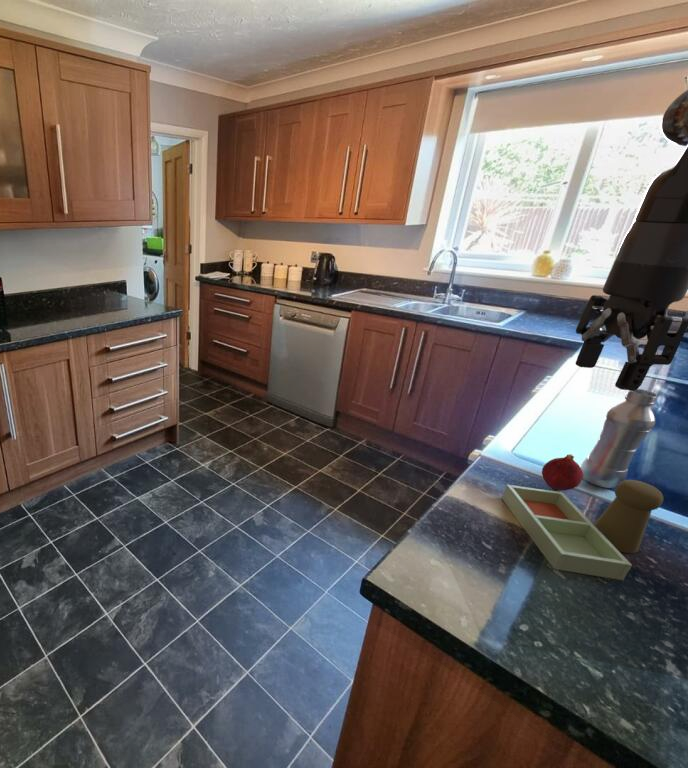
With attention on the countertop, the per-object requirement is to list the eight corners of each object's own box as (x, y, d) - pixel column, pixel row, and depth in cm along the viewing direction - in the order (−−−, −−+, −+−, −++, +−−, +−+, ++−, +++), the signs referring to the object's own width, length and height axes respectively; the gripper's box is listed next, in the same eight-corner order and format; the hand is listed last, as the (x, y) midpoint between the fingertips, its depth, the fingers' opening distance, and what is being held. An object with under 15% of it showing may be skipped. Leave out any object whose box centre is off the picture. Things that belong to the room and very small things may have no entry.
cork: (649, 550, 68) (683, 496, 64) (618, 555, 67) (650, 500, 63) (608, 524, 74) (637, 472, 69) (579, 528, 73) (606, 475, 68)
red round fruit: (576, 503, 79) (594, 468, 76) (537, 492, 82) (553, 457, 79) (571, 487, 83) (587, 453, 80) (534, 477, 86) (549, 443, 83)
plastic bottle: (568, 475, 87) (610, 387, 79) (590, 470, 89) (633, 383, 81) (605, 495, 81) (654, 402, 73) (627, 488, 83) (678, 397, 75)
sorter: (555, 505, 78) (562, 492, 77) (623, 580, 63) (632, 565, 62) (501, 497, 80) (506, 484, 79) (553, 569, 65) (561, 553, 63)
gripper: (748, 269, 47) (676, 401, 53) (648, 254, 59) (600, 362, 66) (666, 266, 48) (606, 395, 55) (585, 252, 61) (545, 358, 67)
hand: (603, 377), depth 60 cm, fingers open, 8 cm apart
